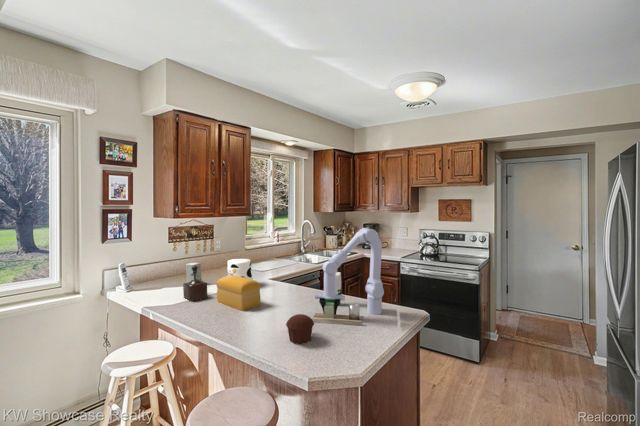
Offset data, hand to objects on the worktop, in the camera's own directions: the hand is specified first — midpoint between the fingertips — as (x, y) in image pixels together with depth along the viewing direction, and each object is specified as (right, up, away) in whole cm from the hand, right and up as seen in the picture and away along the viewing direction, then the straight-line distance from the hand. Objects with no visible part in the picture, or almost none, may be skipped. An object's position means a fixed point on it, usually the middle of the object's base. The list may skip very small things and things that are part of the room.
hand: (329, 314), depth 155 cm
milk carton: (+2, -2, +21) cm, 21 cm away
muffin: (-13, -4, -23) cm, 26 cm away
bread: (-51, -3, +25) cm, 57 cm away
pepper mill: (-81, -2, +38) cm, 89 cm away
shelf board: (+3, -3, -3) cm, 5 cm away
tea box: (0, -1, 0) cm, 1 cm away
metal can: (+11, -2, -3) cm, 12 cm away
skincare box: (-92, -1, +64) cm, 112 cm away
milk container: (-60, -1, +62) cm, 86 cm away
